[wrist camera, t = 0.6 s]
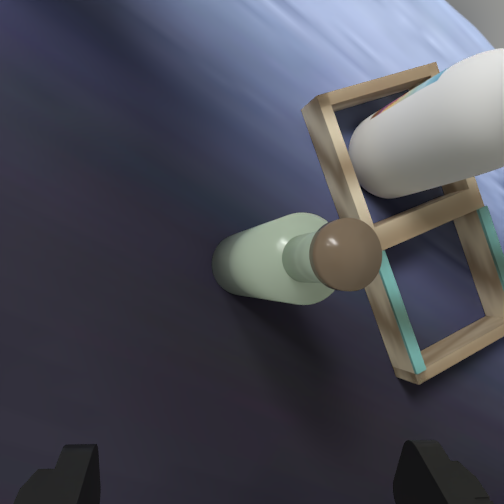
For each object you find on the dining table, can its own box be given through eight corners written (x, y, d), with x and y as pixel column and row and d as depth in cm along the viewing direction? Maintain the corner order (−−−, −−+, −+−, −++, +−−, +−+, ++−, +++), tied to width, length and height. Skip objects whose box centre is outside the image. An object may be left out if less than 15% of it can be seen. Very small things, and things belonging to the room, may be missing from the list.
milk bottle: (407, 211, 40) (675, 153, 21) (335, 182, 38) (561, 87, 19) (425, 135, 41) (696, 13, 22) (356, 103, 39) (590, -64, 20)
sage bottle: (202, 246, 34) (280, 219, 18) (258, 224, 35) (377, 182, 19) (224, 305, 34) (321, 330, 18) (279, 281, 36) (413, 286, 20)
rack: (300, 109, 37) (318, 94, 34) (413, 76, 41) (438, 60, 38) (396, 376, 38) (421, 385, 35) (496, 321, 42) (527, 324, 39)
